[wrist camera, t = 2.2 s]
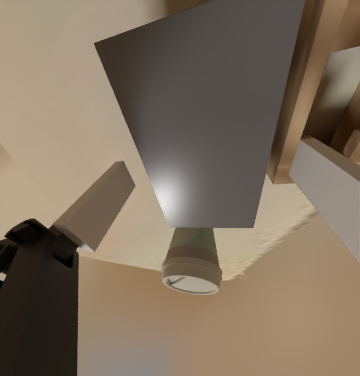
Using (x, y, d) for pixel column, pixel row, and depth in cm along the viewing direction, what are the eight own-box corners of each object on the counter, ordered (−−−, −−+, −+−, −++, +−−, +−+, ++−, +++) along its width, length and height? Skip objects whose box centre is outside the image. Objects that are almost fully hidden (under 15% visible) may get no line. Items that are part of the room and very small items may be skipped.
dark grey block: (148, 55, 13) (93, 43, 7) (251, 24, 11) (313, -37, 5) (179, 181, 22) (169, 227, 16) (238, 177, 20) (253, 227, 14)
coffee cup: (205, 193, 23) (204, 271, 14) (224, 221, 28) (233, 296, 19) (165, 207, 27) (145, 275, 18) (188, 230, 31) (180, 295, 22)
